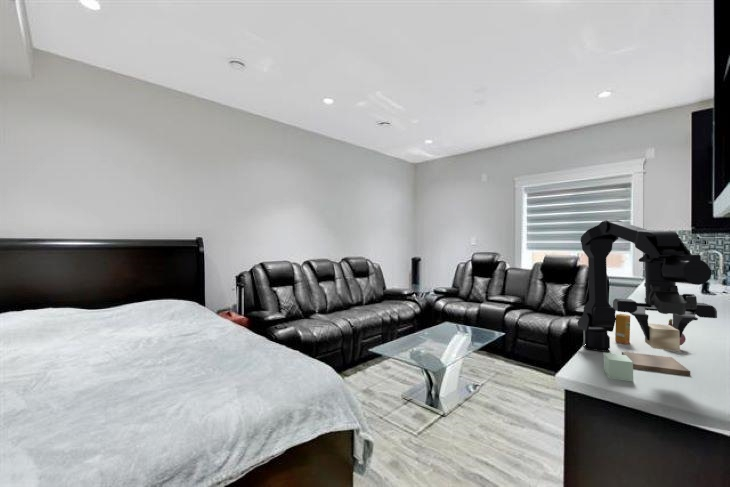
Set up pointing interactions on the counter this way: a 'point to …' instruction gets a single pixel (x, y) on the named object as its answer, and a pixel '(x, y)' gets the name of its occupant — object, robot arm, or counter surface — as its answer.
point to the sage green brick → (618, 366)
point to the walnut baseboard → (656, 363)
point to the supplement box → (622, 328)
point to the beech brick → (663, 337)
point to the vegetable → (682, 338)
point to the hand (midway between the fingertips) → (661, 341)
